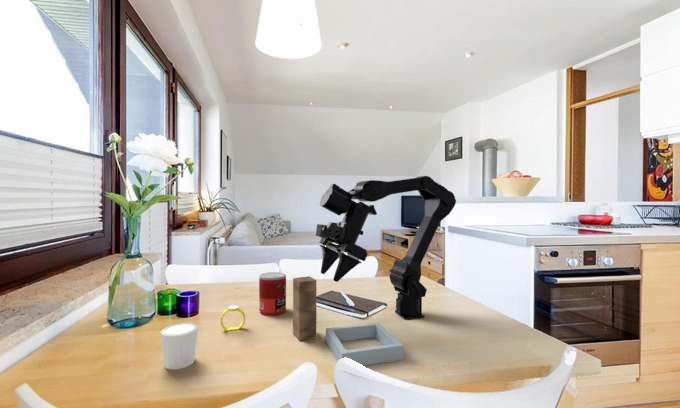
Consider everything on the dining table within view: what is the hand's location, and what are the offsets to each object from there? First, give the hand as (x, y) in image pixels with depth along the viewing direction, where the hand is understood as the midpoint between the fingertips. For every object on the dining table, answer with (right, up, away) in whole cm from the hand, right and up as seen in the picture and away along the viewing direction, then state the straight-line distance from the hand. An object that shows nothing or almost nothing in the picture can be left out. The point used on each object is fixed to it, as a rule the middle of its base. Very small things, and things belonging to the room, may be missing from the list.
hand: (328, 277), depth 86 cm
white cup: (-30, -14, -18) cm, 38 cm away
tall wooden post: (-6, -13, -5) cm, 15 cm away
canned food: (-17, -13, +13) cm, 25 cm away
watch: (-25, -14, -1) cm, 28 cm away
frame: (+8, -14, -12) cm, 20 cm away
